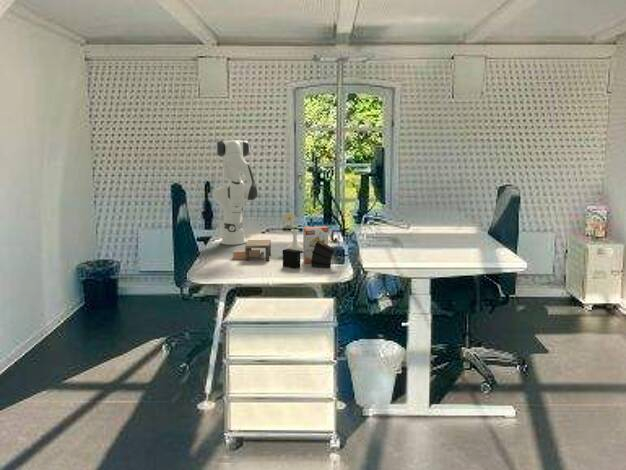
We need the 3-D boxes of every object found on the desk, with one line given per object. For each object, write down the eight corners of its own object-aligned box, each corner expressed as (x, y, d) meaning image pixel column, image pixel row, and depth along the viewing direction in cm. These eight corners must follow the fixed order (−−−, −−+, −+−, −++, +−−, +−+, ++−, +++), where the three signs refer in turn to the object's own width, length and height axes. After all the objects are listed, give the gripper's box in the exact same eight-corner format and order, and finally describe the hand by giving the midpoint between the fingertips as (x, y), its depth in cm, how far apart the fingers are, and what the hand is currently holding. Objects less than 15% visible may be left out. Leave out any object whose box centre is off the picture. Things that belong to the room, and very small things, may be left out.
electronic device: (295, 269, 387) (295, 251, 385) (282, 266, 393) (282, 249, 392) (300, 267, 390) (300, 250, 388) (287, 265, 396) (287, 248, 395)
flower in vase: (305, 249, 441) (304, 211, 436) (303, 253, 430) (302, 214, 425) (284, 249, 442) (284, 211, 438) (282, 253, 431) (281, 213, 427)
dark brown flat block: (307, 262, 395) (318, 240, 391) (327, 273, 393) (338, 250, 389) (305, 264, 391) (316, 241, 387) (325, 275, 389) (336, 252, 385)
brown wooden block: (234, 257, 420) (234, 250, 419) (260, 257, 420) (260, 249, 419) (233, 259, 415) (232, 251, 414) (259, 258, 415) (259, 251, 414)
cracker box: (305, 263, 400) (305, 228, 396) (303, 261, 405) (302, 227, 402) (328, 262, 403) (328, 227, 400) (325, 260, 409) (325, 225, 405)
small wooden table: (248, 254, 427) (248, 239, 425) (270, 254, 427) (270, 239, 425) (245, 261, 408) (245, 245, 406) (269, 261, 408) (268, 245, 406)
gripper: (234, 205, 422) (235, 227, 425) (230, 209, 402) (231, 232, 405) (244, 204, 422) (245, 226, 425) (241, 209, 402) (241, 232, 405)
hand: (238, 229), depth 415 cm, fingers open, 8 cm apart
